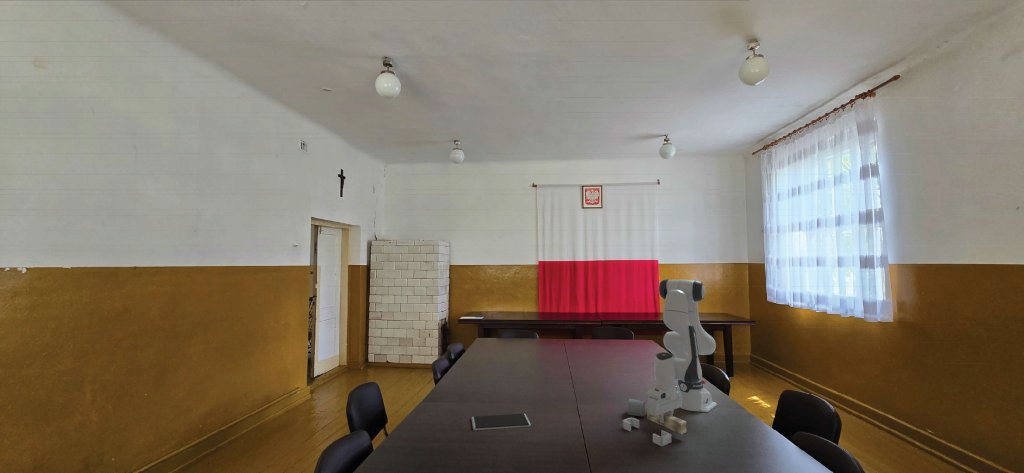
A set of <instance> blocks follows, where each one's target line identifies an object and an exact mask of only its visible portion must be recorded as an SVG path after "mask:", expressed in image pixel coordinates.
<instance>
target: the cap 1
mask: <svg viewBox="0 0 1024 473" xmlns="http://www.w3.org/2000/svg"><path fill="white" fill-rule="evenodd" d="M621 423H622V429H623V430H626V431H629V432H632V427H634V428H637V429H640V419H637V418H635V417H634V416H630V417H628V418H625V419H622V420H621Z"/></svg>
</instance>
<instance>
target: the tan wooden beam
mask: <svg viewBox="0 0 1024 473" xmlns="http://www.w3.org/2000/svg"><path fill="white" fill-rule="evenodd" d="M646 414H647V415H646V417H647V420H649V421H652V422H653V423H656V424H658V425H661V426H663V427H665V428H667V429H669V430H671V431H674V432H676V433H678V434H681V435H684V434H686V433H687V432H688V431H687V421H686V420H683V419H681V418H679V417H676V416H674V415H669V414H668V412H666V413H664V416H663V417H664V418H665V422H664V423H661V422H660V418H659V416H653V415H650V414H649V412H648V408H646Z"/></svg>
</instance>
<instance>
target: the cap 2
mask: <svg viewBox="0 0 1024 473" xmlns="http://www.w3.org/2000/svg"><path fill="white" fill-rule="evenodd" d="M652 442H653V443H654V444H656V445H658V446H660V447H664V446H667V445H669V444H671V443H672V433H670V432H667V431H665V430H663V429H661V435H659V434H656V433H652Z"/></svg>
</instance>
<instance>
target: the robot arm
mask: <svg viewBox="0 0 1024 473" xmlns="http://www.w3.org/2000/svg"><path fill="white" fill-rule="evenodd" d="M706 291H707V290H706V287H705V284H704V283H703V282H702V281H700V280H695V279H694V280H692V279H686V278H685V279H684V278H682V279H679V278H678V279H677V278H676V279H669V278H668V279H667V278H666V279H662V280H661V281H660V283H659V286H658V293H659V296H660V297H661V298H662V299H664V303H663V313H662V321H663V323H664V325H665V326H666V327H667V328H668V329H670V330H671V331H667V332H666V333H665V334H664V336H663V340H662V342H663V345H664V347H665V348H666V350H668V351H669V352H670V353H669V352H666V351H665V352H663V351H662V352H658V353H656V354H655V357H654V367H653V368H654V369H653V370H654V371H653V372H654V373H653V374H654V377H655V379H654V385H652V387H651V388H650V389H649V390H647V396H648V398H647V409H648V412H649V414H650V415H653V416H659V418H660V422H661V423H664V422H665V418H664V417H663V416H664V413H667V414H669V415H672V416H674V415H673V414H674V412H675V411H674V410H677V409H682V410H685V411H689V412H702V413H708V412H710V411H711V410H713V409H714V408H716V407H717V406H718V404H717V402H715V401H713V399H712V394H711V393H710V392H709V390H708V389H706V388H705V386H704V385H706V383H707V381H706V380H705V379H702V377H703V373H702V372H703V371H702V366H701V360H700V355H701V356H705V355H706V356H707V355H713V353H714V352H715V350H717V349H716V348H717V343H716V340H715V339H714V337H713V336H712V335H710V334H709V333H707V332H706V330H705V329H704V328H703V327H702V324H701V322H700V315H699V305H698V304H699V303H698V302H701V301H703V300H704V298H705V296H706ZM675 380H677V385H676V381H675Z"/></svg>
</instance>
